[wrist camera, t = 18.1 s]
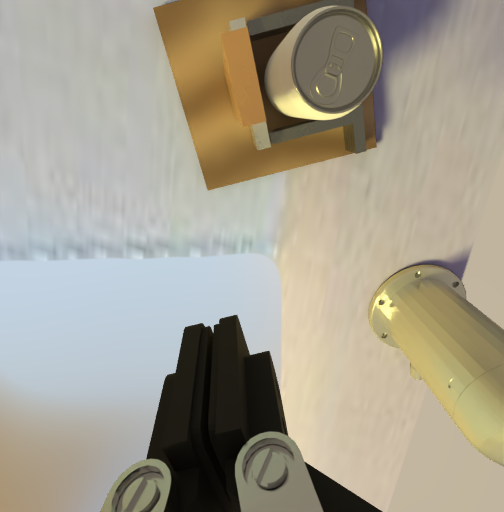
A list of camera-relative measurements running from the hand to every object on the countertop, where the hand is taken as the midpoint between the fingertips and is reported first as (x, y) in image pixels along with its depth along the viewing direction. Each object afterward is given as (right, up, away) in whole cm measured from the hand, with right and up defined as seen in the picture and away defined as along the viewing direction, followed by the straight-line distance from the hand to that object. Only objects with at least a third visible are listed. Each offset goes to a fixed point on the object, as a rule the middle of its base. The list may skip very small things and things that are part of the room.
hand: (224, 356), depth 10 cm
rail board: (+4, +20, +21) cm, 29 cm away
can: (+5, +20, +20) cm, 29 cm away
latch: (0, +18, +20) cm, 27 cm away
